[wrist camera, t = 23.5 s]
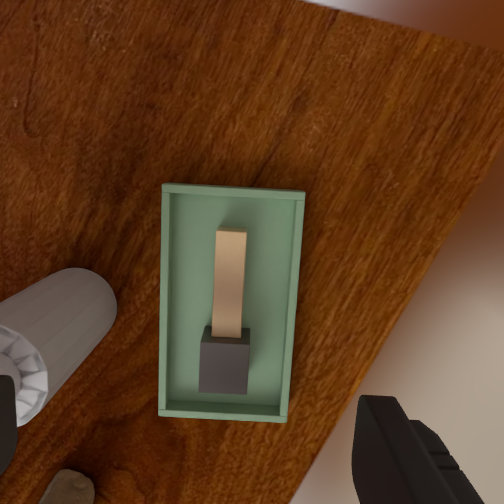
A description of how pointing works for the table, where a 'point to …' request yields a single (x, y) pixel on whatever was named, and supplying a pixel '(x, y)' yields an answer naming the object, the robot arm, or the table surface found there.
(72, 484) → the stone
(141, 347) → the table surface
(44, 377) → the bottle
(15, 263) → the table surface
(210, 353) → the brush
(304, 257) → the table surface
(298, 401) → the table surface
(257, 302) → the tray
